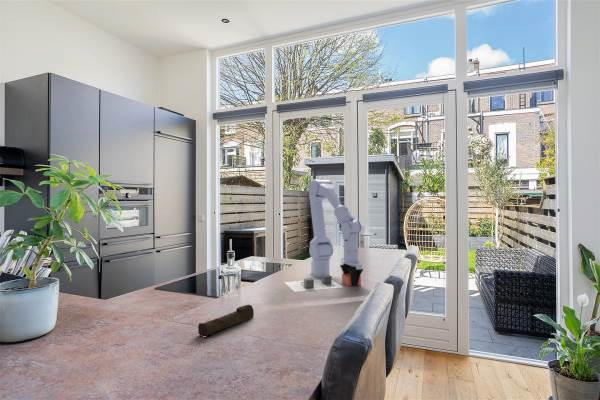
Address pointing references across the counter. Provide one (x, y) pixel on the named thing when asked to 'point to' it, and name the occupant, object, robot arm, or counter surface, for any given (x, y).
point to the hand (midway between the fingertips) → (351, 283)
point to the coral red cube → (349, 280)
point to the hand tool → (226, 320)
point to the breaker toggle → (309, 283)
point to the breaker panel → (318, 284)
